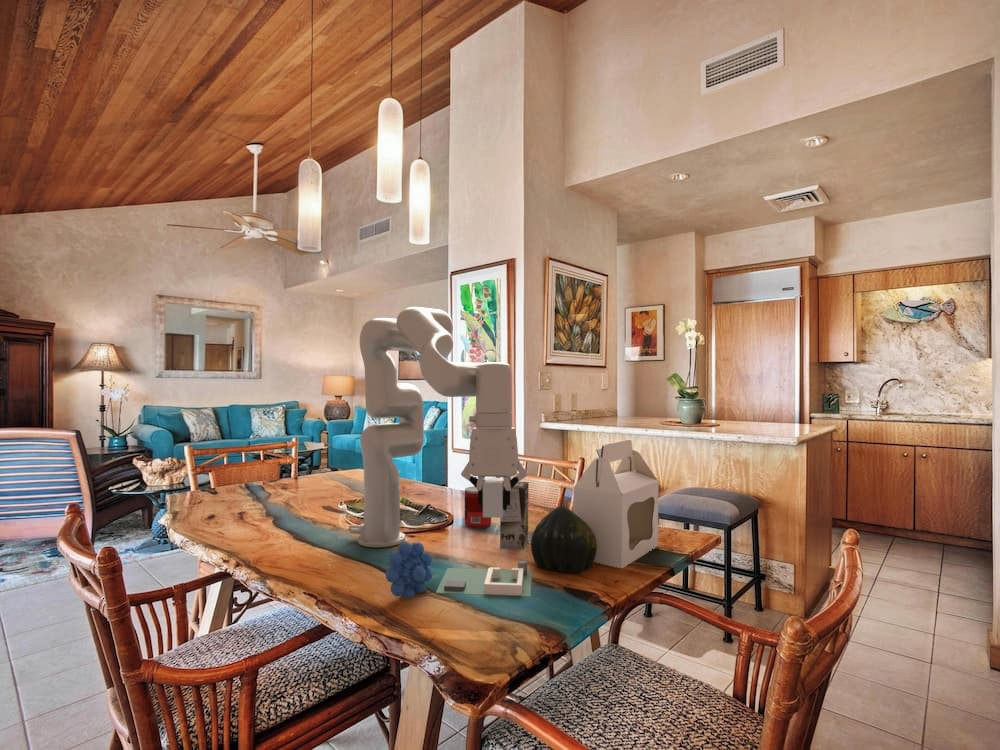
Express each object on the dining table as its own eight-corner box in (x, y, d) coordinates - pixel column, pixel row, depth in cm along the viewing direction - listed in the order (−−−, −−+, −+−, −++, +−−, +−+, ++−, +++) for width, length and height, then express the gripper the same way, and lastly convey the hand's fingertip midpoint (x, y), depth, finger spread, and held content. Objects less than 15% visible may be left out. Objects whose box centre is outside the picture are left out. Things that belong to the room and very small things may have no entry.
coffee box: (523, 551, 137) (524, 488, 138) (499, 549, 139) (499, 487, 139) (529, 540, 146) (529, 481, 146) (505, 539, 148) (506, 480, 148)
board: (435, 598, 108) (435, 580, 108) (447, 573, 122) (447, 556, 122) (530, 602, 106) (530, 583, 106) (531, 576, 120) (531, 559, 120)
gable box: (613, 537, 151) (613, 437, 151) (658, 546, 142) (659, 440, 142) (572, 557, 133) (572, 444, 133) (621, 569, 125) (622, 449, 125)
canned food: (495, 526, 161) (496, 489, 161) (473, 530, 156) (473, 492, 156) (482, 520, 167) (482, 485, 167) (459, 524, 162) (460, 487, 162)
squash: (565, 564, 112) (589, 502, 120) (510, 551, 122) (535, 495, 130) (593, 594, 120) (614, 534, 128) (539, 580, 130) (561, 525, 138)
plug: (482, 517, 110) (482, 482, 110) (487, 508, 117) (486, 476, 117) (502, 517, 110) (502, 483, 110) (505, 509, 117) (505, 476, 117)
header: (484, 594, 107) (484, 584, 107) (488, 576, 117) (488, 567, 117) (521, 595, 107) (521, 585, 107) (523, 577, 116) (523, 568, 116)
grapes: (401, 616, 100) (401, 551, 100) (378, 606, 104) (378, 544, 104) (446, 597, 109) (446, 537, 109) (423, 588, 113) (423, 531, 113)
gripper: (451, 422, 110) (451, 512, 110) (533, 422, 109) (533, 513, 108) (457, 419, 118) (457, 503, 117) (534, 420, 116) (534, 505, 116)
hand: (494, 507), depth 113 cm, fingers closed on plug, 4 cm apart
